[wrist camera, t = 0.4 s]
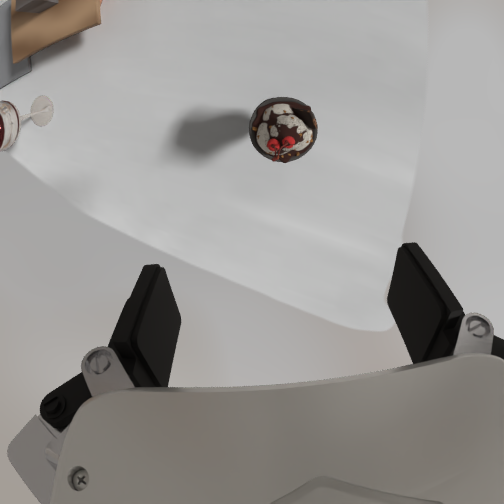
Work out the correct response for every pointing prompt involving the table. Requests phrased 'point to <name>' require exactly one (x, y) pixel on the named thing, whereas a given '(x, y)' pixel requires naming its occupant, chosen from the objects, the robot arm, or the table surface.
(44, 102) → the wineglass
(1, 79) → the mat
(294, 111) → the sundae
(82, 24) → the cover
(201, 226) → the table surface
